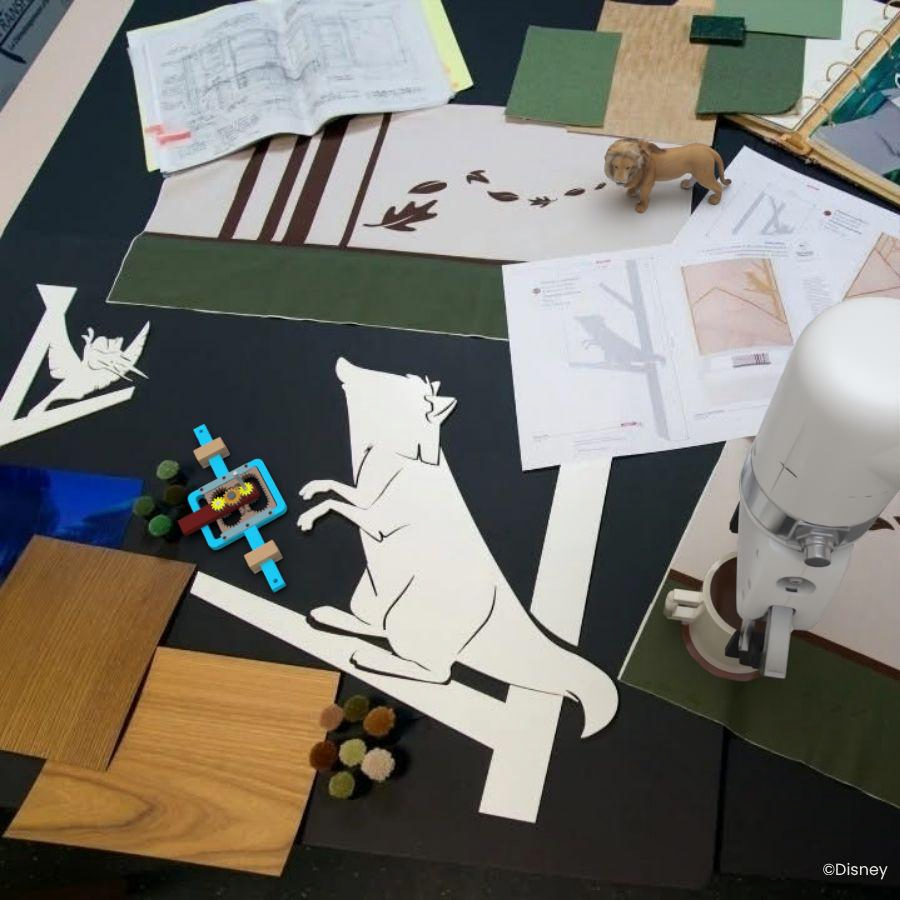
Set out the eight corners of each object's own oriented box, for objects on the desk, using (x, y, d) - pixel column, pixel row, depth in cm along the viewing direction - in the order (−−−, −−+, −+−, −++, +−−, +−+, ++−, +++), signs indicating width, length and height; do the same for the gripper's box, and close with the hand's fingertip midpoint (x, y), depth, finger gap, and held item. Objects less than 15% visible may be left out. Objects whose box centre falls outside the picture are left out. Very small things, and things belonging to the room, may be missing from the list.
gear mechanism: (226, 621, 76) (320, 569, 78) (205, 600, 72) (305, 544, 73) (153, 458, 86) (237, 414, 88) (129, 429, 81) (219, 384, 83)
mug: (780, 594, 71) (804, 555, 64) (780, 680, 68) (805, 649, 61) (663, 578, 73) (674, 539, 66) (656, 661, 69) (667, 629, 62)
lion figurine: (607, 228, 95) (612, 164, 87) (595, 195, 98) (598, 130, 90) (738, 201, 95) (754, 134, 87) (721, 168, 98) (736, 101, 90)
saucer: (813, 572, 73) (816, 567, 72) (816, 727, 67) (819, 724, 66) (657, 551, 75) (658, 546, 74) (645, 699, 69) (646, 696, 68)
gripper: (894, 640, 43) (803, 719, 58) (877, 362, 52) (801, 493, 66) (739, 617, 44) (689, 700, 59) (747, 349, 53) (701, 481, 68)
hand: (748, 591), depth 63 cm, fingers open, 9 cm apart
